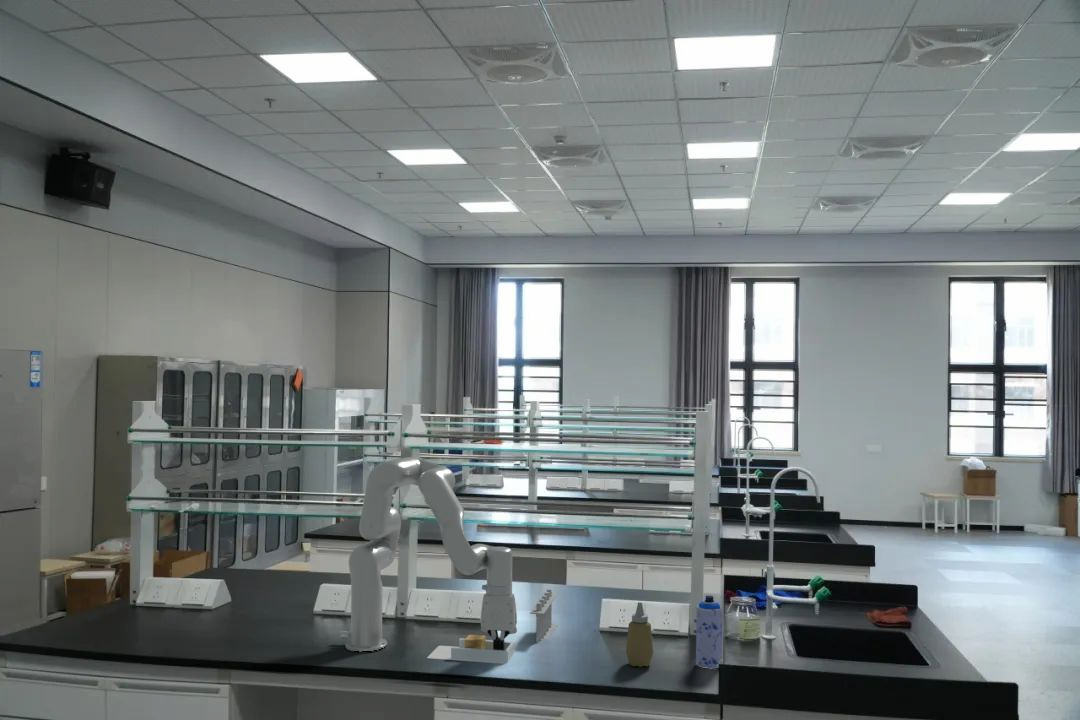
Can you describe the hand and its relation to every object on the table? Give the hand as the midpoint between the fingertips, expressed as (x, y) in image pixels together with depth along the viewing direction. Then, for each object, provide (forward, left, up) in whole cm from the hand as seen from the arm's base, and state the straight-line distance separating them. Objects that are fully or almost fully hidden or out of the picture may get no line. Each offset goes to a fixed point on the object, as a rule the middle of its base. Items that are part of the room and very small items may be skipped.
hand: (498, 652), depth 258 cm
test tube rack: (+9, +27, -3) cm, 28 cm away
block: (-7, 0, -1) cm, 7 cm away
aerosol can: (+61, +10, -3) cm, 62 cm away
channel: (-8, 0, -3) cm, 9 cm away
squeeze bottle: (+41, +6, -3) cm, 41 cm away
